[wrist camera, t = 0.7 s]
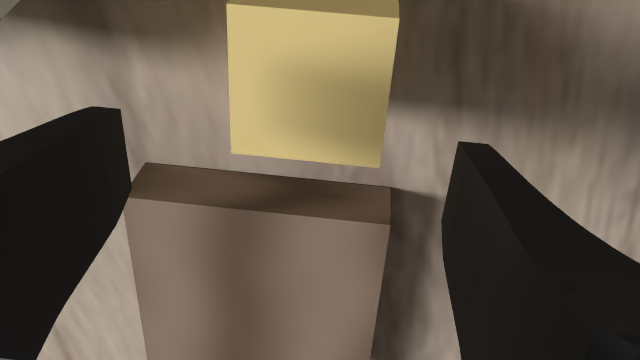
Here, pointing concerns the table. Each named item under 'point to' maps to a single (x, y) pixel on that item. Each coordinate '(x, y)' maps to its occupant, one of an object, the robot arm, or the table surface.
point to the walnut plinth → (255, 264)
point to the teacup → (6, 6)
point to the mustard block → (311, 78)
